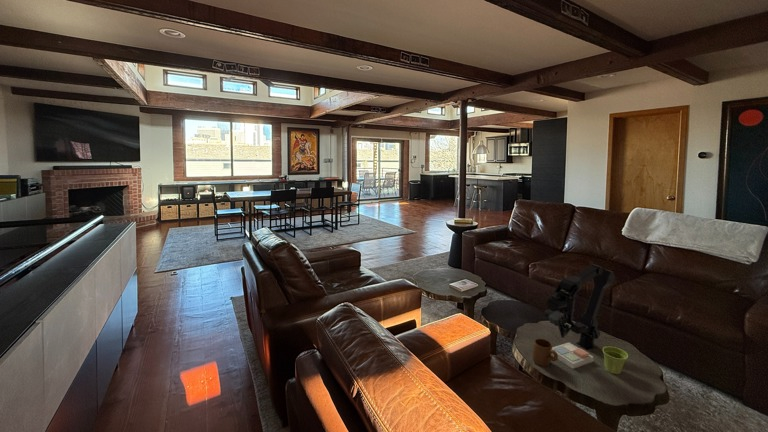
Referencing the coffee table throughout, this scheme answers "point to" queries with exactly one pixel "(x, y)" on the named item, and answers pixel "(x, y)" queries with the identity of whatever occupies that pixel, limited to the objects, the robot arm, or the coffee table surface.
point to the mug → (543, 352)
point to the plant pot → (614, 359)
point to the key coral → (581, 353)
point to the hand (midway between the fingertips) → (562, 337)
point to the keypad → (569, 362)
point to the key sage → (572, 357)
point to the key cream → (570, 348)
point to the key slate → (561, 350)
